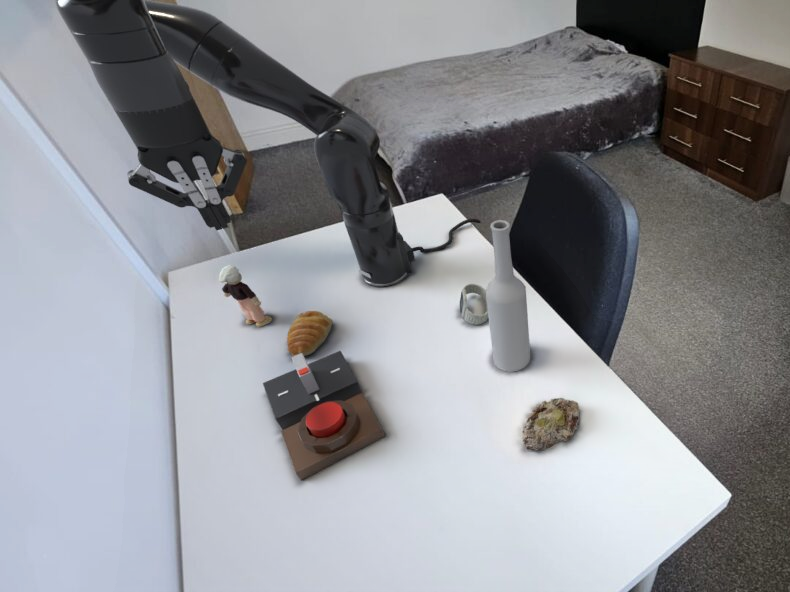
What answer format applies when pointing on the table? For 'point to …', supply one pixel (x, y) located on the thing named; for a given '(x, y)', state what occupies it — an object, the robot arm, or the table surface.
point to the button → (325, 419)
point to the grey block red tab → (305, 373)
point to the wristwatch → (463, 304)
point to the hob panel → (296, 402)
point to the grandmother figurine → (243, 296)
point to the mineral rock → (551, 423)
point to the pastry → (308, 332)
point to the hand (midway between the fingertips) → (221, 226)
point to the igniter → (332, 438)
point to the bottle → (507, 307)
